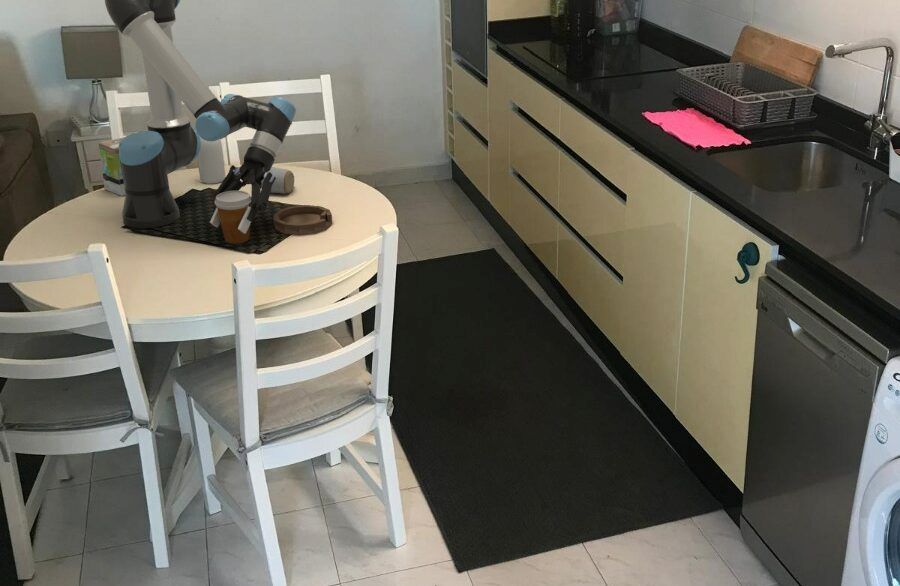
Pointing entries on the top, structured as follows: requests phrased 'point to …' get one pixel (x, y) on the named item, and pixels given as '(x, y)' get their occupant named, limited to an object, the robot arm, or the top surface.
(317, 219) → the round brown ashtray
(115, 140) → the tea box
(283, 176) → the ceramic mug
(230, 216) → the disposable coffee cup
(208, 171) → the milk bottle
